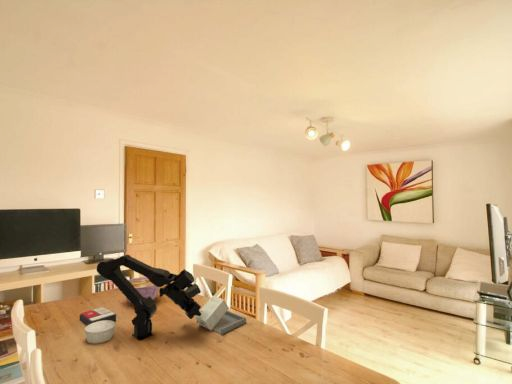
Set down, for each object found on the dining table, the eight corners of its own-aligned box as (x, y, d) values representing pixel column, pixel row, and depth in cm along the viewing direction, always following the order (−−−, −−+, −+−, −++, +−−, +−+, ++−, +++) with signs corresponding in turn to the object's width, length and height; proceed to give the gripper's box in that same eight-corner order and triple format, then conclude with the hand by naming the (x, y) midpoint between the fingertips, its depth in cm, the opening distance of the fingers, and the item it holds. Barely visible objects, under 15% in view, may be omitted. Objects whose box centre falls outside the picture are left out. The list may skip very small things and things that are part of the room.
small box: (210, 331, 125) (229, 308, 133) (205, 321, 123) (224, 299, 131) (200, 325, 131) (218, 303, 139) (194, 316, 128) (213, 294, 136)
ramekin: (120, 336, 119) (120, 324, 119) (92, 348, 110) (93, 334, 110) (106, 329, 125) (106, 317, 126) (79, 339, 116) (80, 327, 116)
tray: (222, 335, 122) (222, 329, 122) (196, 322, 134) (196, 317, 134) (245, 323, 133) (246, 318, 133) (220, 312, 145) (220, 307, 145)
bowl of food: (114, 305, 152) (114, 284, 152) (141, 294, 171) (142, 275, 171) (141, 312, 144) (142, 289, 145) (168, 299, 163) (168, 279, 163)
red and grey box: (103, 306, 143) (116, 312, 134) (103, 314, 143) (116, 321, 133) (79, 312, 135) (91, 320, 125) (79, 321, 135) (91, 330, 125)
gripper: (196, 285, 116) (220, 307, 121) (183, 274, 132) (205, 293, 137) (177, 308, 112) (203, 329, 117) (166, 294, 128) (189, 313, 133)
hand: (200, 314), depth 126 cm, fingers closed
